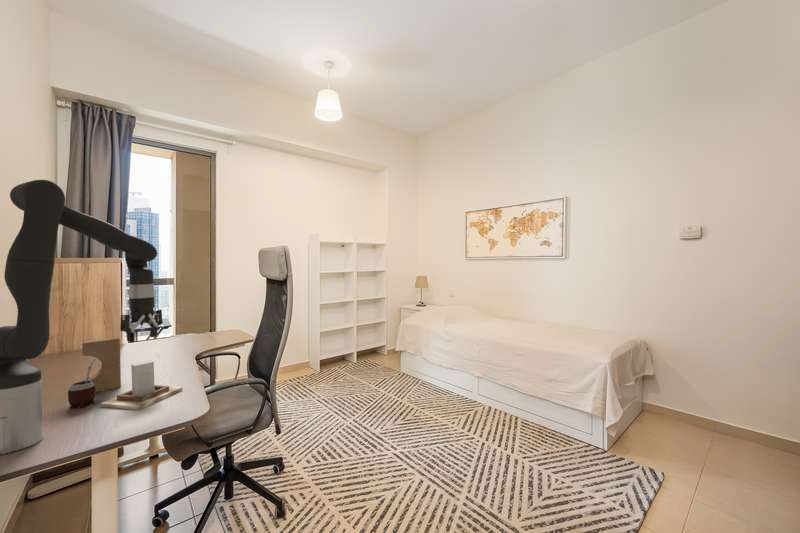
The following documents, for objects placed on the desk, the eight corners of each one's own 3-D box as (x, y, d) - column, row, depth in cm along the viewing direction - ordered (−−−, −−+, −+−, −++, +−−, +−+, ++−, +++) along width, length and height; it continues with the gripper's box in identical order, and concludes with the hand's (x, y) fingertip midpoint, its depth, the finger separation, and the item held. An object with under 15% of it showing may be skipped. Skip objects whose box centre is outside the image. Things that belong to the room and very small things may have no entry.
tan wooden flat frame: (137, 410, 113) (137, 402, 113) (100, 406, 116) (100, 398, 116) (182, 390, 131) (182, 383, 131) (149, 387, 134) (148, 380, 134)
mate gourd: (68, 411, 112) (67, 368, 112) (68, 405, 118) (67, 363, 118) (98, 404, 118) (97, 363, 117) (96, 398, 123) (95, 358, 123)
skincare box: (151, 390, 127) (150, 359, 127) (154, 393, 124) (154, 361, 124) (131, 395, 122) (130, 363, 122) (134, 398, 119) (134, 365, 119)
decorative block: (83, 395, 126) (82, 343, 126) (83, 391, 130) (82, 341, 130) (121, 387, 134) (120, 338, 134) (119, 383, 138) (118, 336, 138)
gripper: (151, 294, 131) (152, 335, 131) (113, 298, 117) (114, 343, 117) (167, 294, 129) (168, 335, 129) (131, 298, 115) (131, 344, 115)
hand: (142, 339), depth 123 cm, fingers open, 8 cm apart
